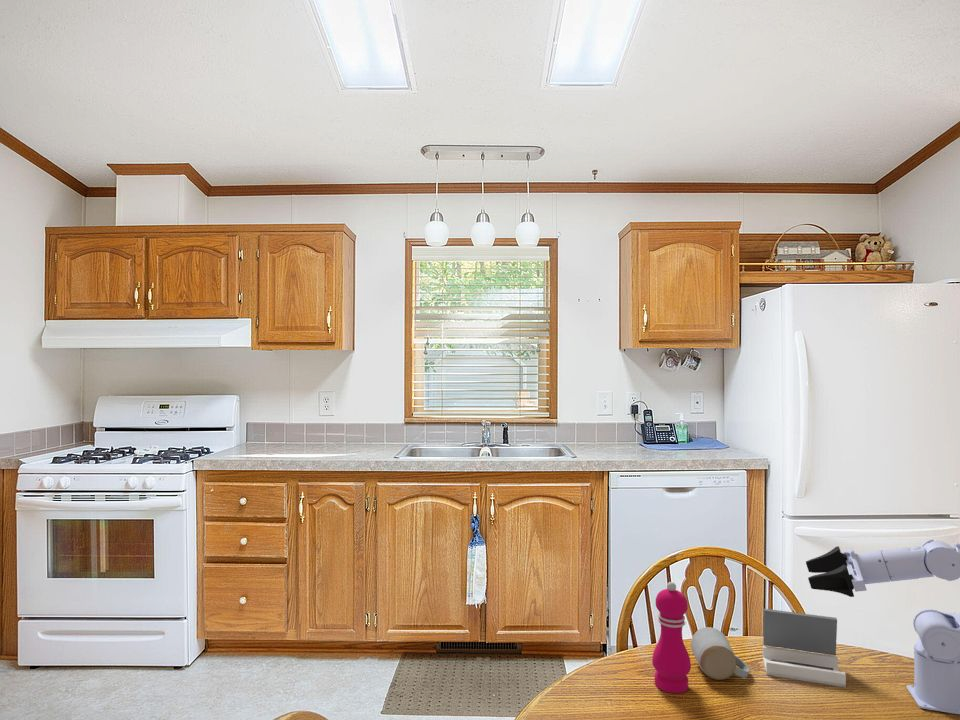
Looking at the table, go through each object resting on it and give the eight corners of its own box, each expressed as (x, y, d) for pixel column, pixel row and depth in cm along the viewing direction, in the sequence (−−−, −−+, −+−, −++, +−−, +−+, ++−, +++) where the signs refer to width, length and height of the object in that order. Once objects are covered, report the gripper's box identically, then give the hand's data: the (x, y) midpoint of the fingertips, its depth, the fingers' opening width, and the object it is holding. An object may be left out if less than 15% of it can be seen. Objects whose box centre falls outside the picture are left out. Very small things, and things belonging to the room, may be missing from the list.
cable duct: (836, 668, 126) (836, 656, 126) (845, 687, 118) (845, 674, 118) (762, 657, 130) (762, 645, 130) (766, 674, 123) (766, 662, 123)
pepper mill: (693, 697, 114) (693, 590, 115) (653, 692, 116) (653, 587, 116) (688, 678, 121) (688, 577, 122) (650, 674, 123) (650, 574, 123)
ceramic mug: (699, 681, 120) (700, 642, 120) (690, 661, 128) (690, 624, 128) (755, 685, 119) (756, 646, 119) (742, 665, 127) (743, 628, 127)
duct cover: (835, 655, 126) (834, 653, 127) (837, 619, 125) (836, 617, 125) (763, 645, 130) (763, 642, 131) (764, 610, 129) (763, 608, 130)
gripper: (872, 532, 124) (800, 542, 130) (885, 561, 111) (804, 571, 117) (883, 565, 124) (810, 573, 130) (897, 598, 111) (815, 606, 117)
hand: (808, 574), depth 123 cm, fingers open, 7 cm apart
